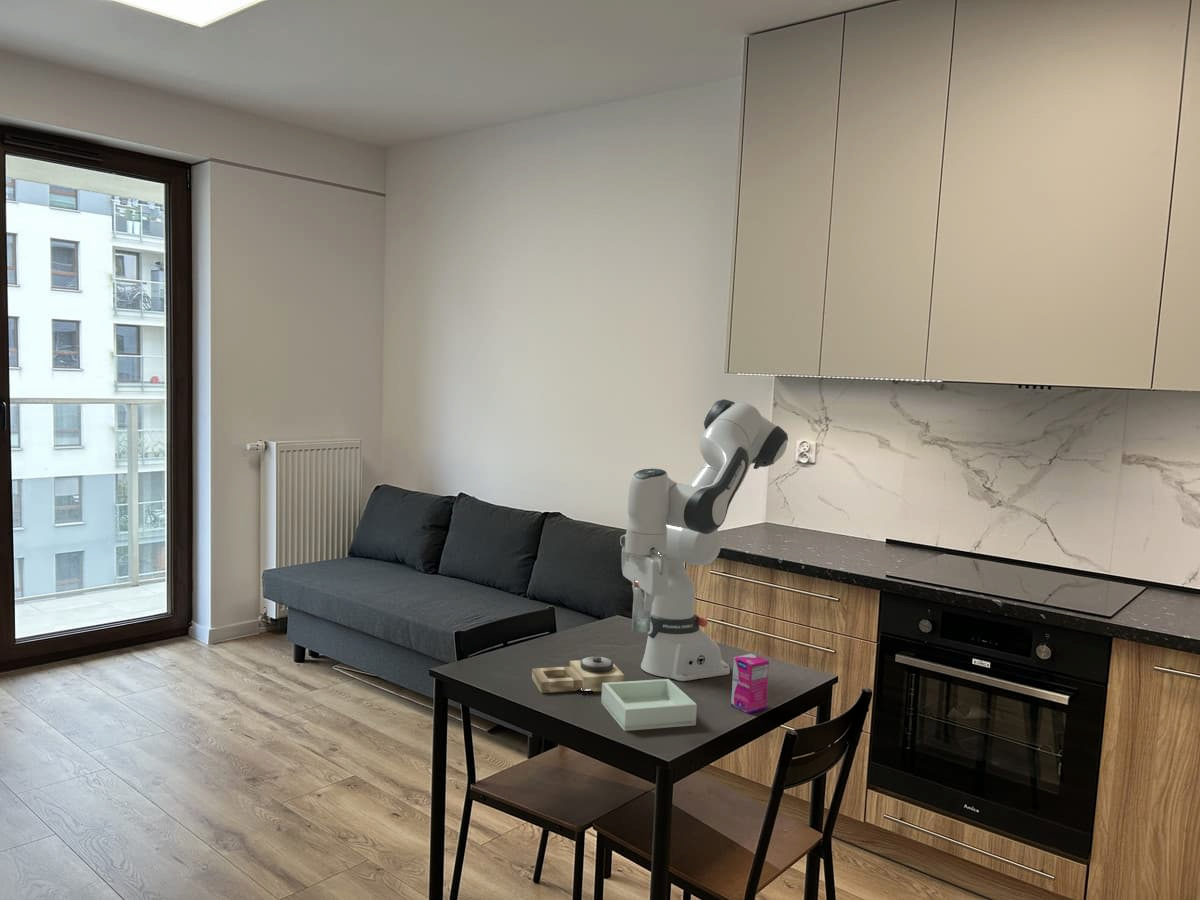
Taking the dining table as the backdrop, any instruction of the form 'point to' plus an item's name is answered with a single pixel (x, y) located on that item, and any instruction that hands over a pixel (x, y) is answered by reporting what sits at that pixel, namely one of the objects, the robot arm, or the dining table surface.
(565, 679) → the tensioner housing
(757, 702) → the supplement box
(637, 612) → the lock pin
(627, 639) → the dining table surface
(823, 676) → the dining table surface
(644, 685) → the tray
